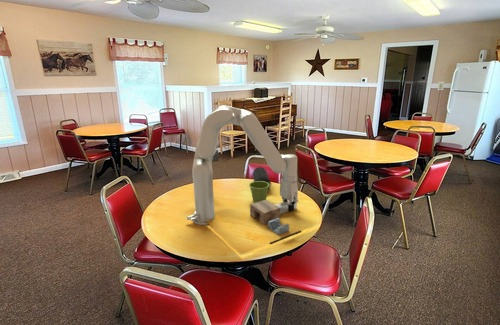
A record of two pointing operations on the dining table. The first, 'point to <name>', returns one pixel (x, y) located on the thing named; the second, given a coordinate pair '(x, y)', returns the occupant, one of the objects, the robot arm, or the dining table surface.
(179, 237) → the dining table surface
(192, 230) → the dining table surface
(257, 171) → the portable speaker
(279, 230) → the v-block
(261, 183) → the plant pot
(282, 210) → the rectangular steel bar
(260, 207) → the slotted wooden block
